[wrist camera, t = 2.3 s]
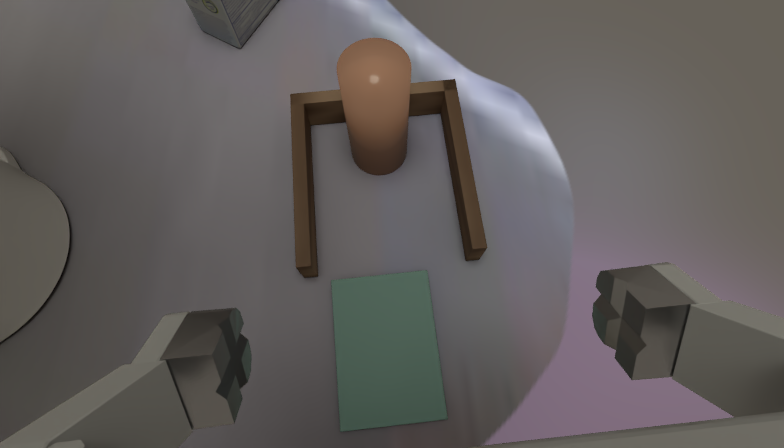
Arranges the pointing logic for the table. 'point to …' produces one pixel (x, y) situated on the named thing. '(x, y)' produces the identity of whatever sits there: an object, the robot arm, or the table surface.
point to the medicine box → (230, 17)
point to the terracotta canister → (376, 103)
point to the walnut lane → (422, 102)
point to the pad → (386, 351)
